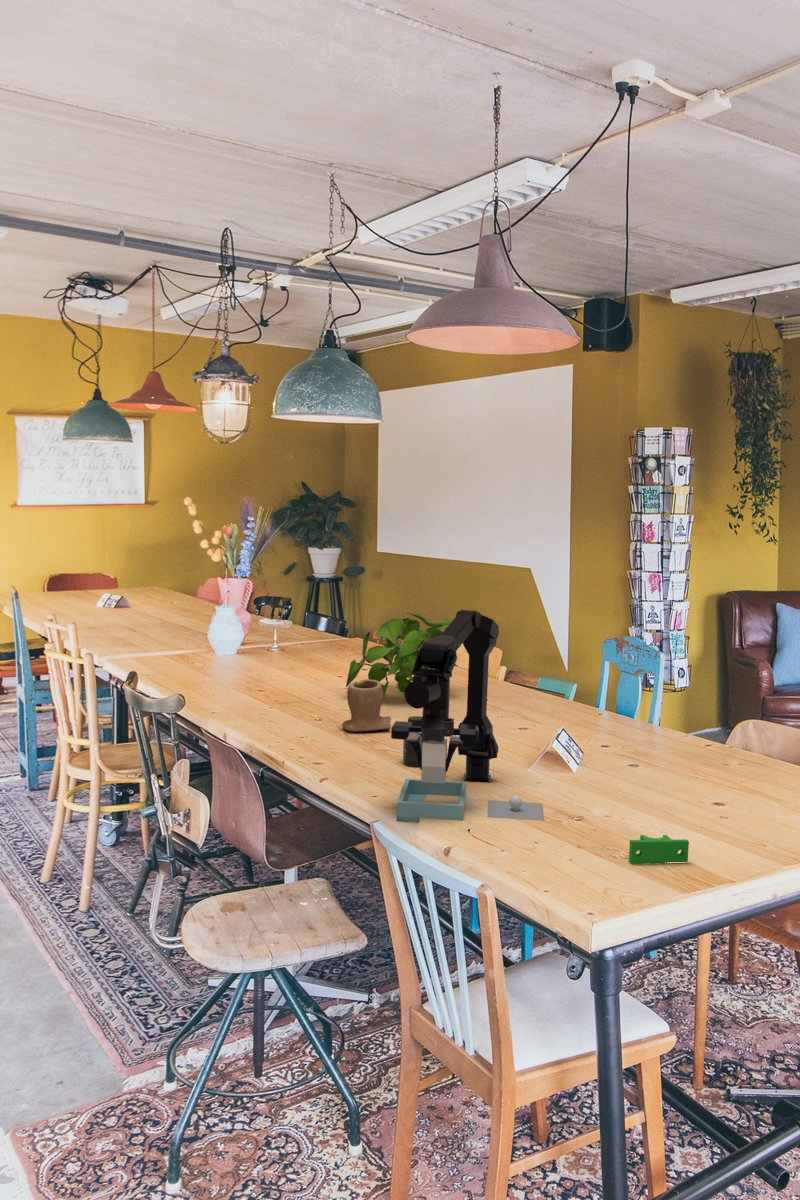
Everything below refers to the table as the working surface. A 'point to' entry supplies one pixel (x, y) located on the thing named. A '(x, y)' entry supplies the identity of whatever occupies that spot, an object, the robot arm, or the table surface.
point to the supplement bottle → (408, 750)
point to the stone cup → (366, 707)
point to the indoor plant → (396, 650)
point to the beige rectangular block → (434, 761)
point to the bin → (415, 807)
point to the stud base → (515, 809)
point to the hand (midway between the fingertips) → (434, 770)
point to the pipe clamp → (658, 850)
